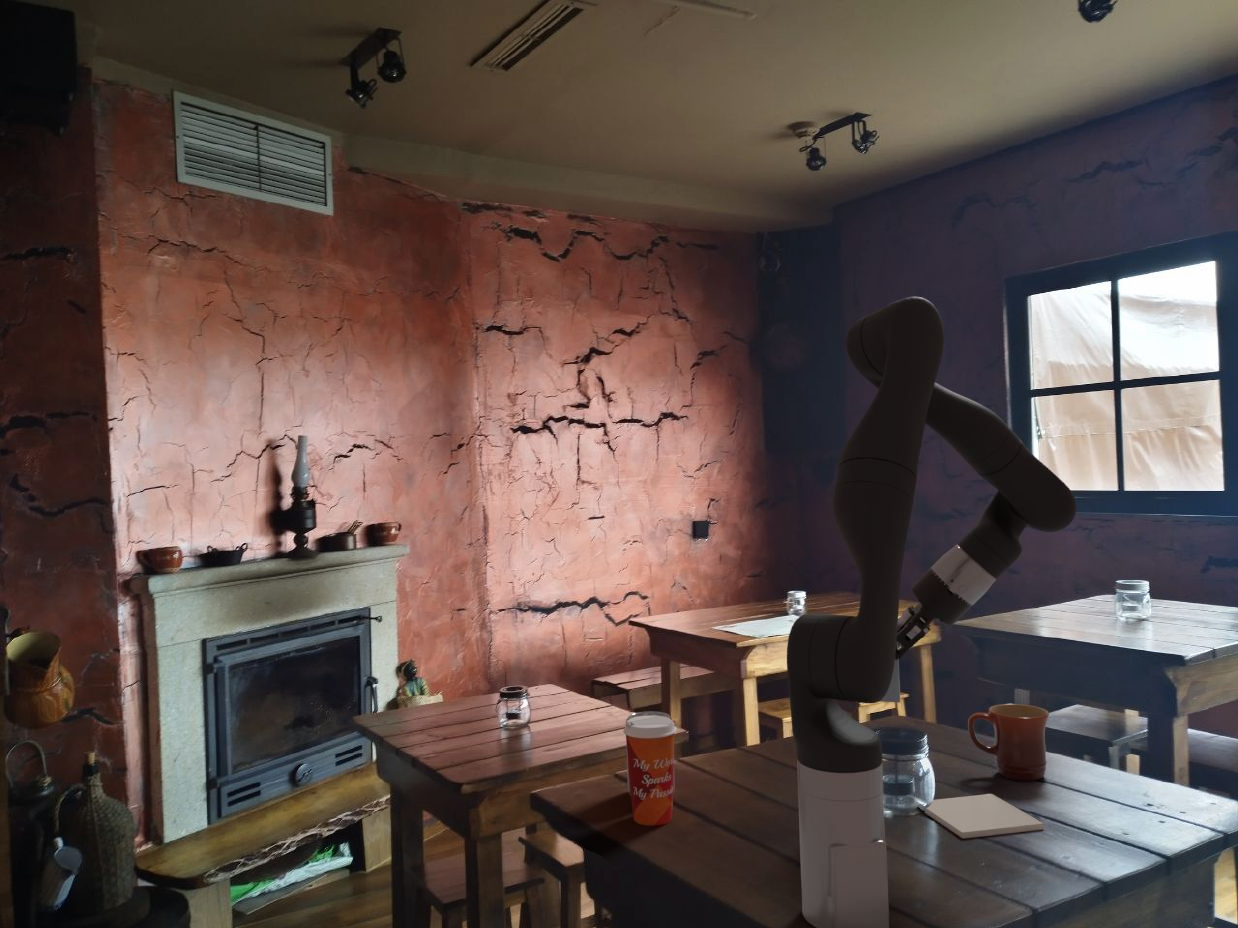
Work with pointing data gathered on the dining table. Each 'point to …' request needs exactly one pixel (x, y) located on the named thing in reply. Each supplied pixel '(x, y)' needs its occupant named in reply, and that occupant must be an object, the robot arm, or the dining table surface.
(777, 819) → the dining table surface
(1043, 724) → the mug
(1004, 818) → the tile
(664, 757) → the paper cup
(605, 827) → the dining table surface
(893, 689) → the block
